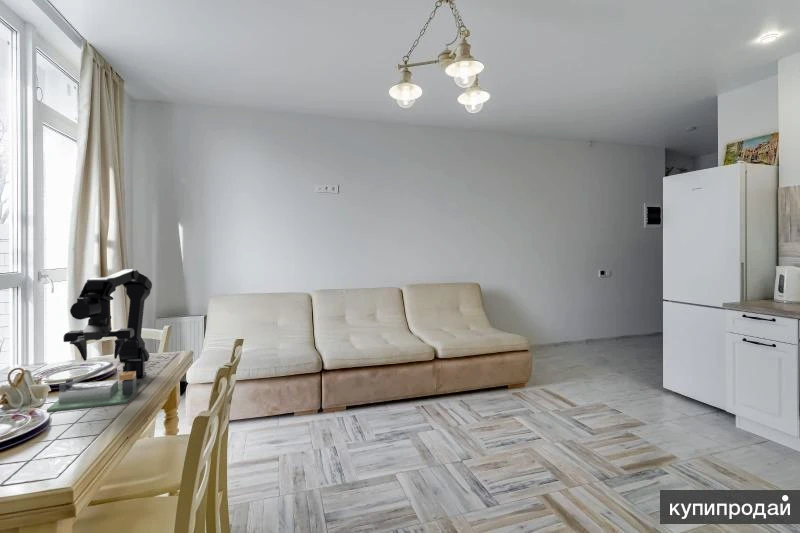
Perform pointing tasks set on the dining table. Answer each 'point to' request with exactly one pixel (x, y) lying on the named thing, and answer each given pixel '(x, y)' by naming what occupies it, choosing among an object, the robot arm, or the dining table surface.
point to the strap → (89, 375)
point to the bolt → (127, 375)
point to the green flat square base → (94, 394)
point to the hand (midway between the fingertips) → (100, 359)
